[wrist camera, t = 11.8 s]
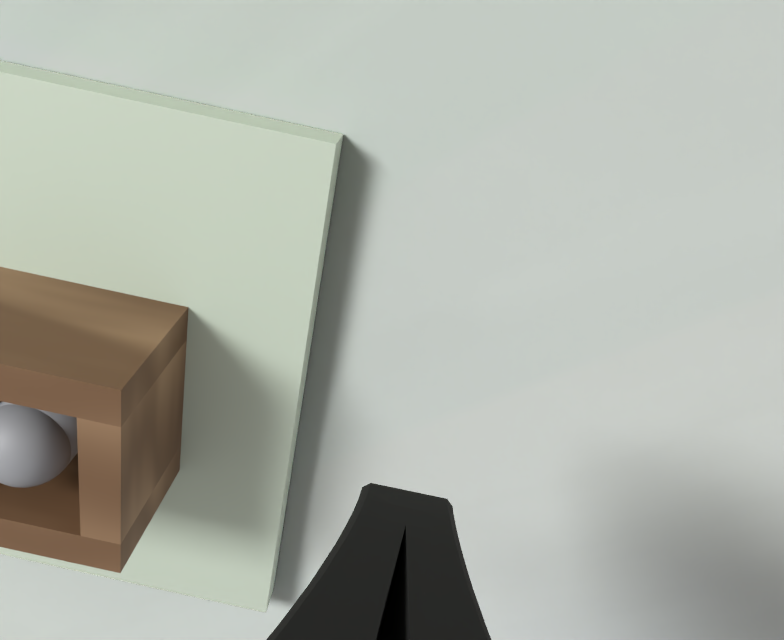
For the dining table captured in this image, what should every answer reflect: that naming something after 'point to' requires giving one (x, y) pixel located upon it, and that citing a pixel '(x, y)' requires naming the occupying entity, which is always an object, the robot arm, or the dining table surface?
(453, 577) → the robot arm
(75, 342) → the collar
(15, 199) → the board
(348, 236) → the dining table surface
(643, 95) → the dining table surface
